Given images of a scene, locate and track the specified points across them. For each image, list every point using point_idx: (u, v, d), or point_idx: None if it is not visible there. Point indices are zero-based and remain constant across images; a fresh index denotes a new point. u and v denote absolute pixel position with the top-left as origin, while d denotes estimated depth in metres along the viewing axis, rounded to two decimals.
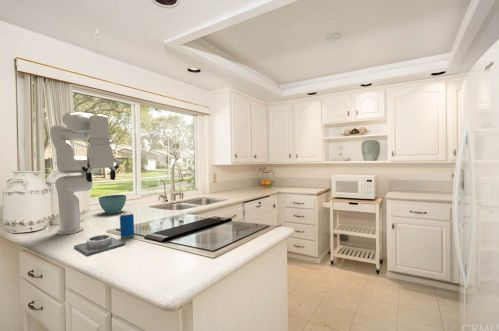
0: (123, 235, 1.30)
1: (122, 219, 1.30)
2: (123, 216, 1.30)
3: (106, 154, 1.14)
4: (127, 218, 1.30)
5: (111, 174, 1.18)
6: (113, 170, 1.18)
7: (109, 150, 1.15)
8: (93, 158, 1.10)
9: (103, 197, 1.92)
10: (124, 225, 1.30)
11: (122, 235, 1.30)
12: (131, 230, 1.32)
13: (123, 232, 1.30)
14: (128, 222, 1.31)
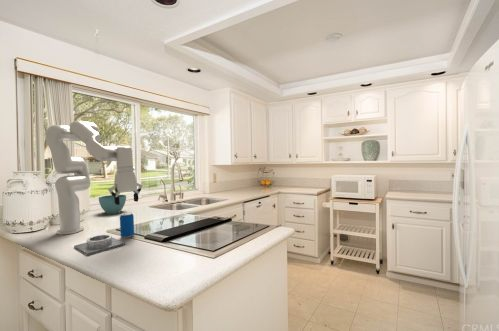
0: (123, 235, 1.30)
1: (122, 219, 1.30)
2: (123, 216, 1.30)
3: (131, 180, 1.32)
4: (127, 218, 1.30)
5: (134, 196, 1.36)
6: (136, 193, 1.35)
7: (133, 176, 1.33)
8: (120, 184, 1.28)
9: (103, 197, 1.92)
10: (124, 225, 1.30)
11: (122, 235, 1.30)
12: (131, 230, 1.32)
13: (123, 232, 1.30)
14: (128, 222, 1.31)
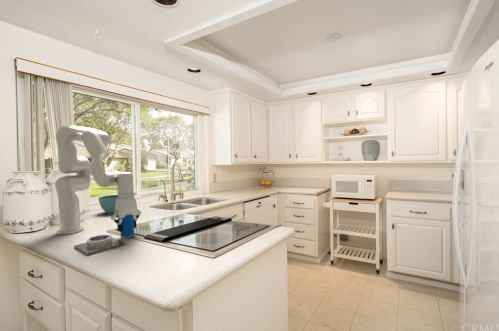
0: (123, 235, 1.30)
1: (122, 219, 1.30)
2: None
3: (131, 205, 1.32)
4: (127, 218, 1.30)
5: None
6: (134, 219, 1.35)
7: (134, 201, 1.33)
8: (121, 211, 1.28)
9: (103, 197, 1.92)
10: (124, 225, 1.30)
11: (122, 235, 1.30)
12: (131, 230, 1.32)
13: (123, 232, 1.30)
14: (128, 222, 1.31)
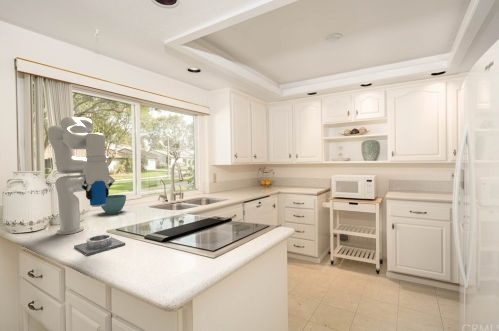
0: (92, 204, 1.15)
1: (91, 185, 1.15)
2: None
3: (102, 171, 1.17)
4: (97, 184, 1.15)
5: None
6: (106, 187, 1.20)
7: (105, 167, 1.18)
8: (89, 175, 1.13)
9: None
10: (94, 192, 1.15)
11: (91, 204, 1.15)
12: (102, 198, 1.17)
13: (93, 200, 1.15)
14: (98, 189, 1.15)
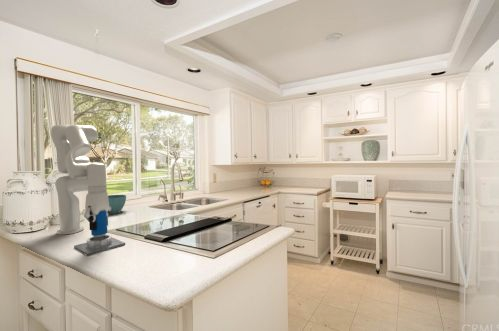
0: (97, 234, 1.16)
1: (96, 216, 1.15)
2: None
3: (105, 200, 1.19)
4: (102, 214, 1.17)
5: None
6: None
7: (106, 196, 1.21)
8: (96, 206, 1.14)
9: None
10: (99, 222, 1.16)
11: (96, 234, 1.16)
12: (106, 227, 1.19)
13: (98, 230, 1.16)
14: (103, 218, 1.17)
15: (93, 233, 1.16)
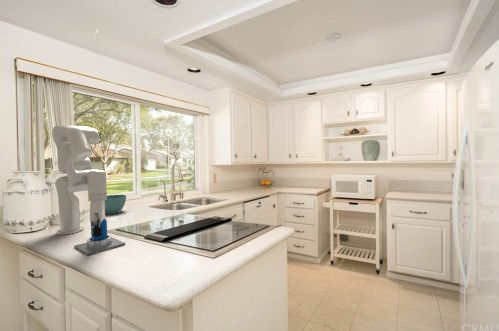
0: None
1: (101, 224, 1.17)
2: None
3: (104, 206, 1.21)
4: (105, 222, 1.19)
5: None
6: None
7: (104, 202, 1.22)
8: (102, 213, 1.16)
9: None
10: (104, 230, 1.18)
11: None
12: None
13: (103, 238, 1.17)
14: (106, 226, 1.19)
15: None
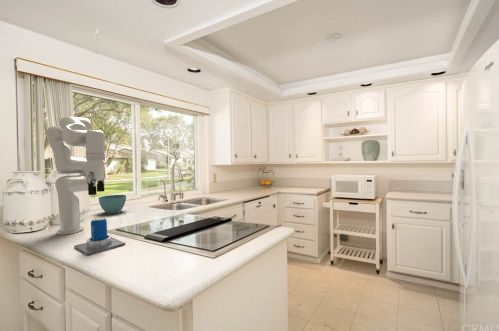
0: None
1: (101, 224, 1.17)
2: (101, 221, 1.17)
3: (102, 167, 1.21)
4: (105, 222, 1.19)
5: (100, 186, 1.24)
6: (102, 182, 1.25)
7: (103, 163, 1.22)
8: (98, 172, 1.16)
9: (103, 197, 1.92)
10: (103, 230, 1.18)
11: None
12: None
13: (103, 238, 1.17)
14: (106, 226, 1.19)
15: None
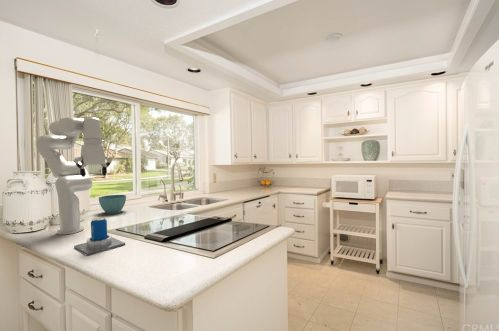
0: None
1: (101, 224, 1.17)
2: (101, 221, 1.17)
3: (98, 152, 1.29)
4: (105, 222, 1.19)
5: (103, 170, 1.33)
6: (104, 167, 1.33)
7: (101, 149, 1.30)
8: (86, 156, 1.25)
9: (103, 197, 1.92)
10: (103, 230, 1.18)
11: None
12: None
13: (103, 238, 1.17)
14: (106, 226, 1.19)
15: None
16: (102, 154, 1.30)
